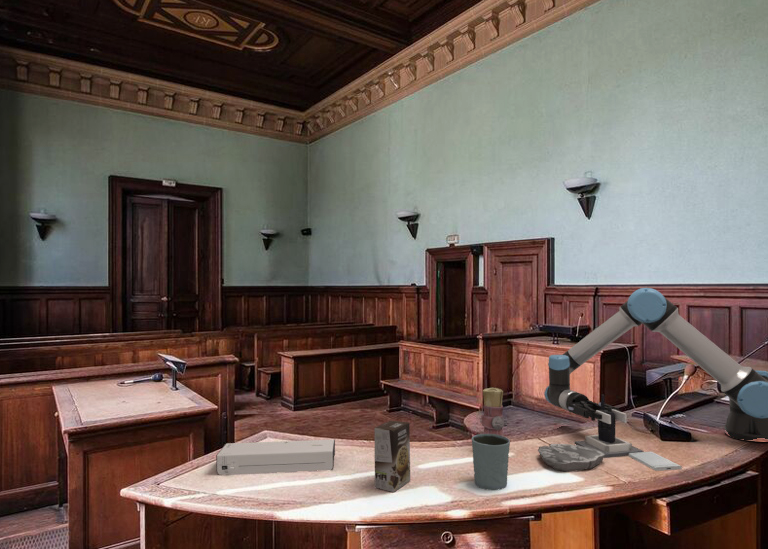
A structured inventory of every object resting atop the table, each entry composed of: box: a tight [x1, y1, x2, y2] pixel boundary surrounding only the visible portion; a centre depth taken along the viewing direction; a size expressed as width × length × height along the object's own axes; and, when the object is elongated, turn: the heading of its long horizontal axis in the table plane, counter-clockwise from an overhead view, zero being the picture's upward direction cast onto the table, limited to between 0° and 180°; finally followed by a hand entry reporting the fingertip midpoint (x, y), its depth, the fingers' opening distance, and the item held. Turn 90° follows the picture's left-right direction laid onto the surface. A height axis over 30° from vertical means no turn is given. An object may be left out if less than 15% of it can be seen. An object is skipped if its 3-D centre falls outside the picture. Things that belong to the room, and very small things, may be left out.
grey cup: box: [471, 433, 511, 491], centre depth 132 cm, size 10×10×12 cm
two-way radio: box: [597, 394, 617, 443], centre depth 158 cm, size 6×4×15 cm
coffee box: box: [374, 420, 411, 493], centre depth 133 cm, size 9×6×16 cm
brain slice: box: [537, 443, 605, 472], centre depth 147 cm, size 20×17×3 cm
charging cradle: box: [574, 434, 645, 459], centre depth 158 cm, size 15×14×3 cm
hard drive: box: [628, 451, 683, 472], centre depth 145 cm, size 2×8×12 cm
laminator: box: [215, 439, 336, 476], centre depth 147 cm, size 34×12×6 cm, turn 94°
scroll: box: [479, 387, 505, 436], centre depth 158 cm, size 8×8×20 cm
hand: (617, 419), depth 153 cm, fingers closed on two-way radio, 5 cm apart
